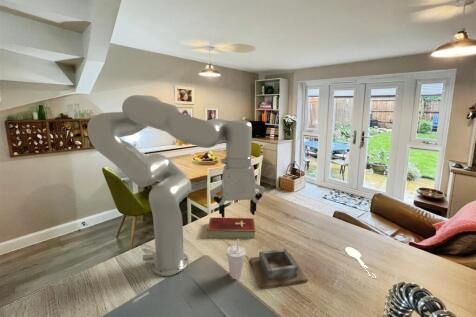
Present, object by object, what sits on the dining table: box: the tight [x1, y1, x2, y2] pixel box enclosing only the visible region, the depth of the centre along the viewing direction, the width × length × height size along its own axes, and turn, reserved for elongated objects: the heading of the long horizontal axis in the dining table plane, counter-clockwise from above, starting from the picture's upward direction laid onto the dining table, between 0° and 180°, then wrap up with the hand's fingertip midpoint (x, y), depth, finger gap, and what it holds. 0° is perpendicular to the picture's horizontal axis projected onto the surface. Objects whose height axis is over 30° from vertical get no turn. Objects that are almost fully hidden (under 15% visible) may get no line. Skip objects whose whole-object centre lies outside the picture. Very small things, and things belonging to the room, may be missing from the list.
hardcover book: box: [206, 216, 257, 239], centre depth 108 cm, size 12×21×4 cm, turn 90°
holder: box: [249, 248, 309, 289], centre depth 82 cm, size 16×14×4 cm
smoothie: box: [225, 238, 247, 281], centre depth 78 cm, size 6×6×14 cm
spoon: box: [344, 246, 377, 279], centre depth 89 cm, size 5×18×1 cm, turn 3°
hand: (237, 214), depth 75 cm, fingers open, 9 cm apart
